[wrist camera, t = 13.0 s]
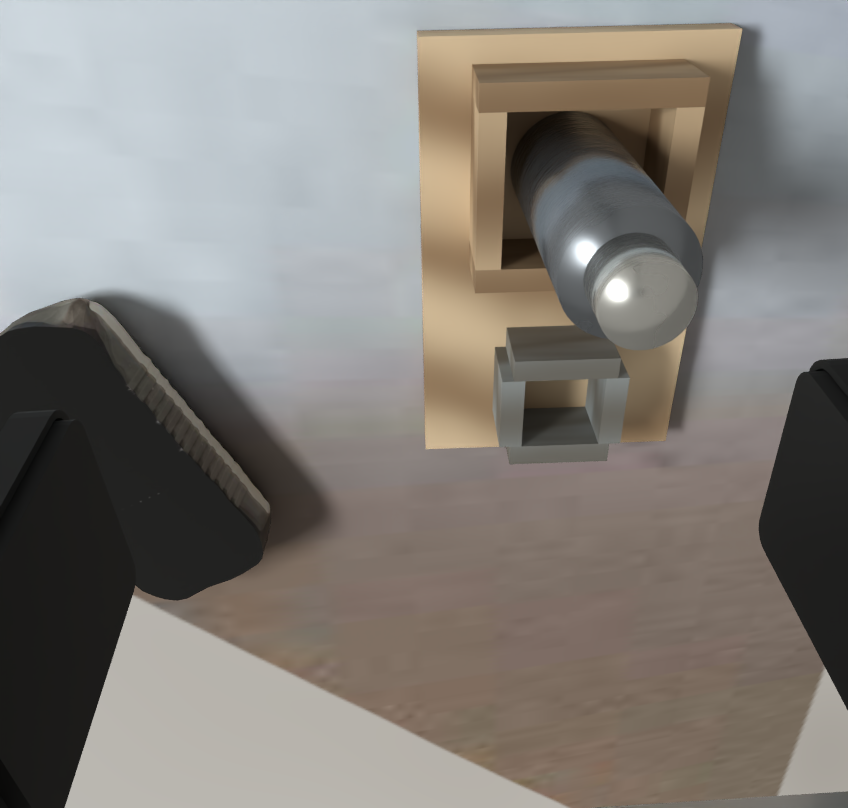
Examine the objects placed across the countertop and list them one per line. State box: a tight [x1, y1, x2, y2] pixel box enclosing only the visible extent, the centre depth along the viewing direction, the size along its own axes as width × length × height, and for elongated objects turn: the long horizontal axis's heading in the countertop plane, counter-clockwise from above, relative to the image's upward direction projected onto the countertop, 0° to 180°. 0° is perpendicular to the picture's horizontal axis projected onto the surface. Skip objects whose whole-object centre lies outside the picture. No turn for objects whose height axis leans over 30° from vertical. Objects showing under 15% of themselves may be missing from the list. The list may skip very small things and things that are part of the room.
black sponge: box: [0, 298, 271, 600], centre depth 40 cm, size 16×8×4 cm, turn 27°
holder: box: [417, 23, 742, 464], centre depth 35 cm, size 19×12×4 cm, turn 1°
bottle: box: [511, 111, 703, 350], centre depth 28 cm, size 4×4×12 cm
